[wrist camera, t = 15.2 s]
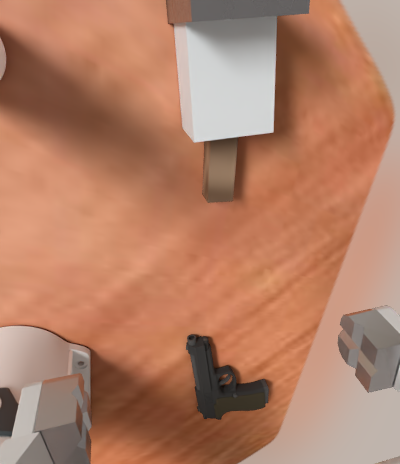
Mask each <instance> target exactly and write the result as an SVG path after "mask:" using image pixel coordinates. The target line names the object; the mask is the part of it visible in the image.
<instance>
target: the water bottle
mask: <svg viewBox="0 0 400 464" xmlns="http://www.w3.org/2000/svg"><path fill="white" fill-rule="evenodd" d="M5 68H6V52H5V48H4V45H3V42H2V40H1V38H0V80H1V78H2V76H3V74H4V72H5Z"/></svg>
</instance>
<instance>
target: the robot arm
mask: <svg viewBox="0 0 400 464" xmlns="http://www.w3.org/2000/svg"><path fill="white" fill-rule="evenodd" d="M340 325H341V326H342V328H343V330H342V331H341V333H340V334H339V336H338V346H339V351H340V353H341V355H342V357H343V359H344V360H345V362H346V363H347V364H348V365H350V366H351V367H353V368H355V369H356V373H355V375H356V377H357V378H358V380H359V381H360V382H361V384H362V385H363V386H364V388H365V389H366V390H367V392H368V393H369V392H373V391H378V390H382V389H386V388H391V387H394V389H395V390H397V391H398V392H400V315H399V314H398V313H397V312H396V311H395V310H394V309H392V308H391V307H390V306H387V305H385V306H381V307H377V308H372V309H368V310H363V311H359V312H355V313H350V314H346V315H343V317H342V318H341V322H340ZM80 361H82V362H80ZM91 426H92V414H91V353H90V350H89V349H88V348H86V347H84V346H80V345H76V344H71V343H68V342H66V341H64V340H63V339H61V338H60V337H58V336H56V335H55V334H53V333H51V332H48V331H46V330H43V329H39V328H35V327H29V326H8V327H1V328H0V464H91V439H90V436H89V433H88V431H89V429H90V428H91ZM376 464H400V456H399V457H396V458H393V459H389V460H386V461H382V462H379V463H376Z"/></svg>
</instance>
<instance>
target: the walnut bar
mask: <svg viewBox="0 0 400 464" xmlns="http://www.w3.org/2000/svg"><path fill="white" fill-rule="evenodd" d="M237 145H238V137H234V138H226V139H218V140H210V141H204V166H203V190H202V194H203V196H204V197H205V199H206V201H207V202H208V203H210V202H227V201H233V193H234V181H235V169H236V157H237Z"/></svg>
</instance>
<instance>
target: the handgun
mask: <svg viewBox="0 0 400 464" xmlns="http://www.w3.org/2000/svg"><path fill="white" fill-rule="evenodd" d="M187 340H188V342H187V345H186V350H188V353H189V354H190V356H191V362H192V367H193V372H194V378H195V383H196V386H195V391H196V396H197V401H198V406H197V409H198V411H200V412H201V413H202V414H203V417H204V419H207V418H216V419H218V420H221V417H222V416H223V414H225V413H226V412H229V411H250V410H257V409H261V408H264V407H265V404H266V403H268V393H269V389H268V385H267V383H266V381H265V379H262V380H258V381H255V382H251V383H245V384H236V377H235V375H234V372H233V370H232V369H231V368H230V367H229V366H225V367H221V368H214V366H213V359H212V352H211V346H210V344H209V341H208V338H207V337H205V336H203V337H201V336H200V337H196V336H195V335H189V336H188V337H187ZM224 374H228V376H227V377H226V378H225V379H223V380H219V378H220V377H221V376H222V375H224ZM230 374H231V375H232V376H233V377H232V382H231V383H230V384H229V385H222V384H225V383H226V382H227V381H228V380H229V379H230Z"/></svg>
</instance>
